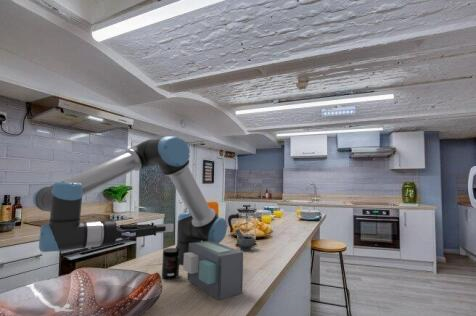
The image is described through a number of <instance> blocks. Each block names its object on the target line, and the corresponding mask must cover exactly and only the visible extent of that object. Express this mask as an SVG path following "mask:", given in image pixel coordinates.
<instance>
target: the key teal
mask: <svg viewBox="0 0 476 316" xmlns="http://www.w3.org/2000/svg"><path fill="white" fill-rule="evenodd" d="M216 267H217V263H215V262H213V261H210V260H202V261H199V279H200V280H201V281H203V282H205V283H206V284H212V283H216Z"/></svg>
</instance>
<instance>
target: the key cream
mask: <svg viewBox="0 0 476 316" xmlns="http://www.w3.org/2000/svg"><path fill="white" fill-rule="evenodd" d="M182 265H183V266H182V267H183V268H182V269H183V271H185V272H187V274H188V273H190V274H193V273H197V272H198V267H199V255H198V254H196V253H193V252H189V253H184V262H183V264H182Z"/></svg>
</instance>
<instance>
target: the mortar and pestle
mask: <svg viewBox="0 0 476 316" xmlns="http://www.w3.org/2000/svg"><path fill="white" fill-rule="evenodd" d="M234 232H236V233H235V234H236V235H237V238H236V243H237V245H238V246H239V251H242V252H243V253H245V252H246V253H248V252H251V251H252V247H253V246H254V244H255V237H253V236H249V235H247V236H246V235H243V233H242V232H241V230H240V228H239V227H238V228H236V229H235V230H234Z"/></svg>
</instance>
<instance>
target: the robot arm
mask: <svg viewBox="0 0 476 316" xmlns="http://www.w3.org/2000/svg"><path fill="white" fill-rule="evenodd" d="M190 156H191V155H190V148H189V145H188V143H187V142H186V141H185V140H184V139H183V138H181V137H179V136H176V135H175V136H174V135H173V136H171V135H167V136H164V137H163V136H162V137H154V138H149V139H146V140H144V141H142V142H140V143H138V144H137V145H134V146H132V147H130V148H128V149H126V150H125V152H124V153H123V154H120V155H118V156H116V157H113V158H112V159H110V160H107V161H105V162H102V163H100V164H98V165H96V166H93V167H91V168H89V169H87V170H84V171H82V172H80V173H78V174H76V175H73V176H71V177H69V178H65V179H64V180H61V181H59V182H58V181H57V182H54V183H53V184H52V185H50V186H44V187H41V188H39V189H37V190H36V191H35V192H34V194H33V196H32V202H33V203H32V204H33V205H34V206H35V207H36V208H37V209H39V210H41V211H43V212H50V213H49V214H50V217H49V222H48V223H46V224H42V225H41V226H40V230H39V239H38V249H39V251H40V252H42V253H48V252H51V253H52V252H62V251H69V250H70V251H71V250H77V249H85V248H87V249H88V250H91V249H92V247H93V248H95V247H96V248H97V247H100V246H102V247H107V246H113V245H115V244H116V241H117V239H119V238H121V240H126V239H130V240H132V239H137V238H142V237H148V236H155V237H156V236H157V234H161V233H163V234H164V233H173V232H174V228H175V227H174V223H173V222H172V223H160V224H155V223H154V222H151V223H150V224H149V223H148V224H147V223H146V224H144V223H143V224H120V226H117V225H118V224H117V222H116V221H115V220H103V221H102V222H101V221H99V220H96V221H85V222H81V213H82V203H83V202H82V201H83V197H84V196H86V195H87V194H90V193H92V192H93V191H96V190H98V189H99V188H101V187H104V186H106V185H108V184H109V183H112V182H113V181H115V180H118V179H119V178H121V177H123V176H125V175H127V174H129V173H131V172H133V171H135V172H139V171H141V170H143V169H146V168H150V167H159V169H160V170H161V173H162V174H163V175H164V176H165V177H166V176H167V177H169V179H170V181H171V182H172V184H173V185H174V187H175V189H176V191H177V193H178V195H179V196H180V197H181V199H182V201H183V203H184V204H185V206H186V208H187V211H188V212H181V213H178V215H177V217H178V218H177V231H176V232H177V234H176V239H177V240H176V246H175V248H177V249H180V257H179V265H183V262H184V253H188V252H189V243H194V242H202V241H209V240H211V241H214V242H216V243H219V244H221V242H222V241H223V240H224V238H225V236H226V234H227V230H228V224H227V221H226V219H225V218H224V217H219V216H218V214H217V212H216V210H215V209H214V208H212V207H211V208H210V206H209V204H208V202H207V200H206V198H205V196H204V194H203V193H202V191H201V189H200V187H199V185H198V183H197V182H196V179H195V177H194V176H193V173H192V172H191V170H190V168H189V165H190V160H189V159H190Z"/></svg>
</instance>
